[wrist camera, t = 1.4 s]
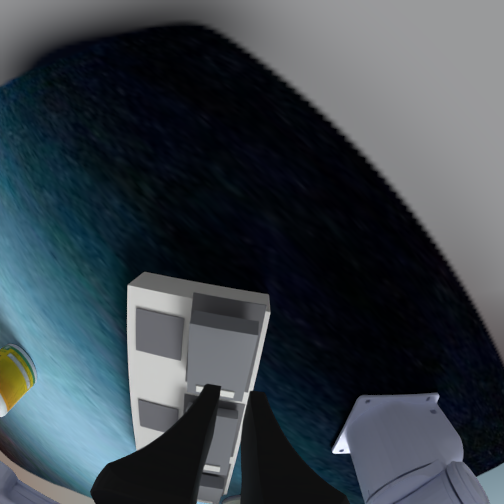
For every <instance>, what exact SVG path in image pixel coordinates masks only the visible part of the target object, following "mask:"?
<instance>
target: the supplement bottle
mask: <svg viewBox="0 0 504 504" xmlns="http://www.w3.org/2000/svg"><path fill="white" fill-rule="evenodd" d="M36 381H37V373H36V369H35V366H34V364H33V362H32V360H31V359H30V357H29V356H28V355H27V353H26V352H25V351H24V350H23V349H21V348H20V347H19V346H17V345H14V344H7V345H6V346H4V347H3V348H2V349H0V417H3V416H5V415H6V414H7V413H8V412H9V410H10V409H11V408H12V407H13V406H14V405H15V404H16V403H17V402H18V401H19V400H20V399H21V398H22V397H23V396H24V395H25V393H26V392H27V391H28V390H29V389H30V388H31V387H32V386H33V385H34V384H35V383H36Z"/></svg>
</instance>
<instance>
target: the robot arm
mask: <svg viewBox="0 0 504 504" xmlns="http://www.w3.org/2000/svg"><path fill="white" fill-rule="evenodd" d="M220 391H221V386H218V385H213V384H206V385H204V387H203V389H202V391H201V393H200V394H199V396H198V397H197V399H196V400H195V402H194V403H193V404H192V405H191V406H190V408H189V409H188V410H187V411H186V412H185V414H184V415H183V416H182V417H181V418H180V419H179V420H178V421H177V422H176V423H175V424H174V425H173V426H172V427H170V428H169V429H168V430H167V431H166V432H165V433H163V434H162V435H161V436H159V437H158V438H157V439H155V440H154V441H152V442H151V443H149V444H148V445H146V446H145V447H143V448H141V449H139V450H137V451H136V452H134V453H132V454H130V455H128V456H126V457H123V458H121V459H118V460H116V461H113V462H111V463H108V464H107V465H106V466H105V467H104V468H103V470H102V471H101V472H100V474H99V475H98V477H97V478H96V480H95V482H94V484H93V486H92V489H91V491H90V493H91V496H92V498H93V500H94V502H95V503H96V504H196V503H197V498H198V492H199V486H200V481H201V477H202V473H203V469H204V466H205V463H206V459H207V456H208V452H209V449H210V446H211V442H212V439H213V435H214V429H215V423H216V417H217V411H218V404H219V398H220ZM438 399H439V394H438V393H426V394H408V395H362V396H360V397H358V398H357V400H356V402H355V404H354V407H353V409H352V411H351V413H350V415H349V417H348V419H347V421H346V423H345V425H344V427H343V429H342V431H341V433H340V434H339V436H338V438H337V440H336V442H335V444H334V446H333V447H332V453H335V454H337V453H350V454H351V457H352V460H353V464H354V467H355V470H356V474H357V477H358V481H359V484H360V488H361V491H362V495H363V498H364V502H365V504H490V502H489V499H488V497H487V495H486V493H485V491H484V489H483V488H482V486H481V484H480V483H479V481H478V480H477V478H476V477H475V475H474V474H473V472H472V471H471V470H470V469H469V467H468V466H467V465H466V464H465V463H464V462H462V459H463V445H462V441H461V439H460V437H459V435H458V433H457V432H456V431H455V429H454V428H453V426H452V425H451V423H450V422H449V420H448V419H447V417H446V416H445V415H444V413H443V412H442V410H441V409H440V408H439V406H438V405H437V403H436V402H437V400H438ZM366 400H368V401H366ZM241 471H242V488H241V499H240V504H350V503H349V501H348V499H347V496H346V495H345V494H343V493H341V492H340V491H338V490H337V489H335V488H334V487H332V486H331V485H329V484H328V483H327V482H326V481H324V480H323V479H322V478H321V477H320V476H318V475H317V474H316V473H315V472H314V471H313V470H312V469H311V468H310V467H309V466H308V465H307V464H306V463H305V462H304V461H303V459H302V458H301V457H300V456H299V455H298V453H297V452H296V451H295V450H294V448H293V447H292V446H291V444H290V443H289V441H288V440H287V438H286V437H285V435H284V433H283V432H282V430H281V428H280V426H279V424H278V422H277V421H276V419H275V417H274V414H273V412H272V410H271V408H270V405H269V403H268V400H267V397H266V394H265V393H264V392H258V391H250V392H249V397H248V401H247V405H246V410H245V414H244V418H243V424H242V433H241ZM0 504H60V503H58V502H56V501H54V500H52V499H50V498H48V497H47V496H45V495H43V494H41V493H40V492H38V491H36V490H35V489H33V488H31V487H30V486H28V485H26V484H25V483H23V482H22V481H20V480H18V478H17V476H16V474H15V473H14V472H13V471H12V470H11V469H10V468H9V467H8V466H7V465H5V464H4V463H3V462H1V461H0Z"/></svg>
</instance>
